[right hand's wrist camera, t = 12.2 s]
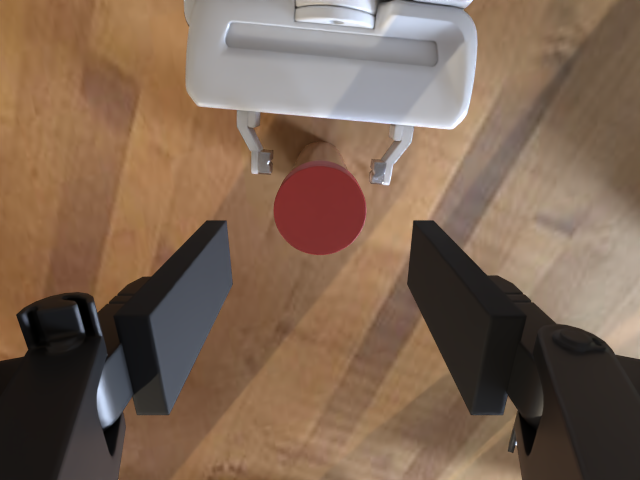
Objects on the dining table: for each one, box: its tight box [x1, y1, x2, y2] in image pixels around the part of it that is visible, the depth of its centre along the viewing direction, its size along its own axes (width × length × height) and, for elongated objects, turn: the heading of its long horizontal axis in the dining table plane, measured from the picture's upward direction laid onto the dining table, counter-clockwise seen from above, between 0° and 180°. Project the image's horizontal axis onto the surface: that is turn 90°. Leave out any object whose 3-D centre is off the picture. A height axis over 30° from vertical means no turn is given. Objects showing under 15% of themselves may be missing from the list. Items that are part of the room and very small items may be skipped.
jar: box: [293, 141, 347, 170], centre depth 27 cm, size 4×4×16 cm
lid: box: [274, 160, 366, 255], centre depth 20 cm, size 5×5×2 cm
